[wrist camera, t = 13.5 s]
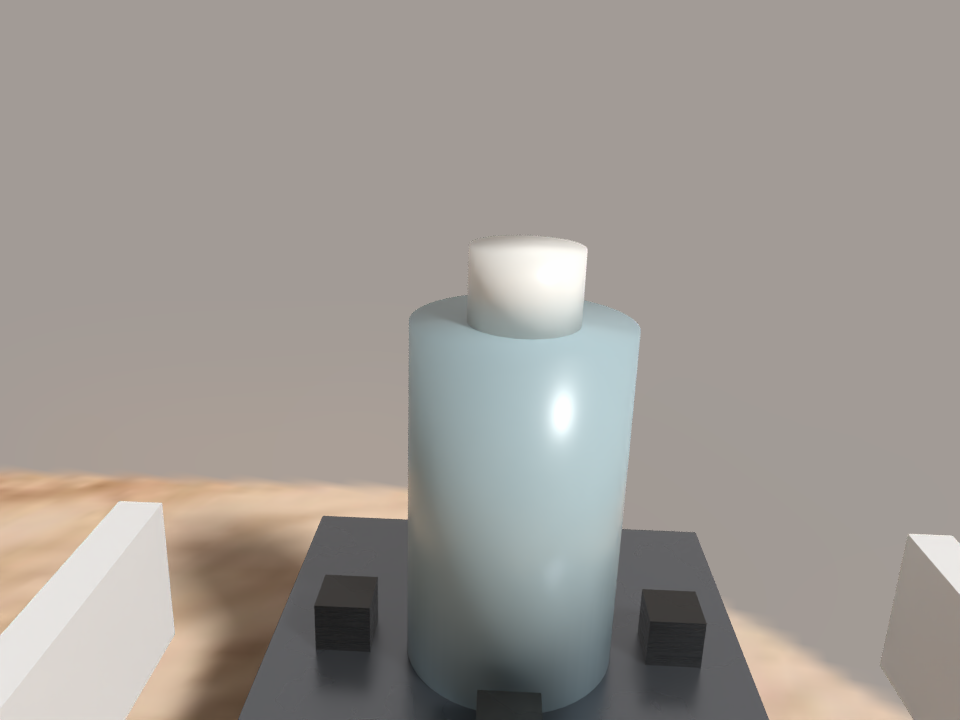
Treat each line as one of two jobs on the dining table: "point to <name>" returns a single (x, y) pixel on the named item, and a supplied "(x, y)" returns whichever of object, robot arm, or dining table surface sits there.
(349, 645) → the block
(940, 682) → the robot arm
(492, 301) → the white-capped plastic bottle
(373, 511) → the dining table surface
